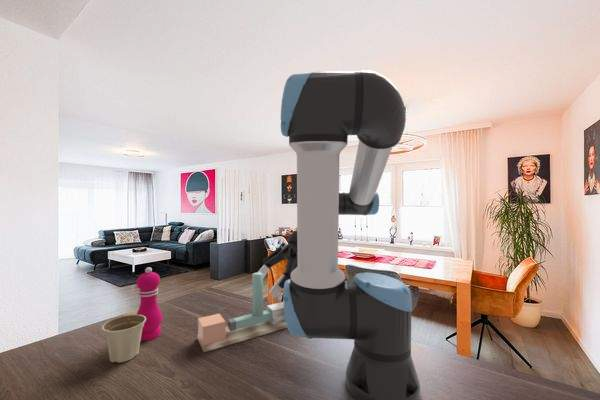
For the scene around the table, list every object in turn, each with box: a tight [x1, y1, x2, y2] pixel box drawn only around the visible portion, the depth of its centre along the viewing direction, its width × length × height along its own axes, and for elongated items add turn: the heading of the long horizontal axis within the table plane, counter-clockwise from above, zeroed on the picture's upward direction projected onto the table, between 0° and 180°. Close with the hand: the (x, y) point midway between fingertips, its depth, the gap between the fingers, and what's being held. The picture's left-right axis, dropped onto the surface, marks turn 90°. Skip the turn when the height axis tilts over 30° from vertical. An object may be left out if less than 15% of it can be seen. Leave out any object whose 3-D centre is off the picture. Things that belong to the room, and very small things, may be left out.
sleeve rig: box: [196, 301, 288, 353], centre depth 81 cm, size 30×8×6 cm, turn 122°
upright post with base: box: [227, 271, 272, 331], centre depth 83 cm, size 21×3×15 cm, turn 122°
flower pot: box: [101, 314, 146, 364], centre depth 68 cm, size 9×9×9 cm
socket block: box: [197, 313, 226, 346], centre depth 75 cm, size 6×6×5 cm
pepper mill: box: [135, 266, 163, 342], centre depth 78 cm, size 7×7×20 cm
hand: (262, 288), depth 84 cm, fingers open, 13 cm apart
